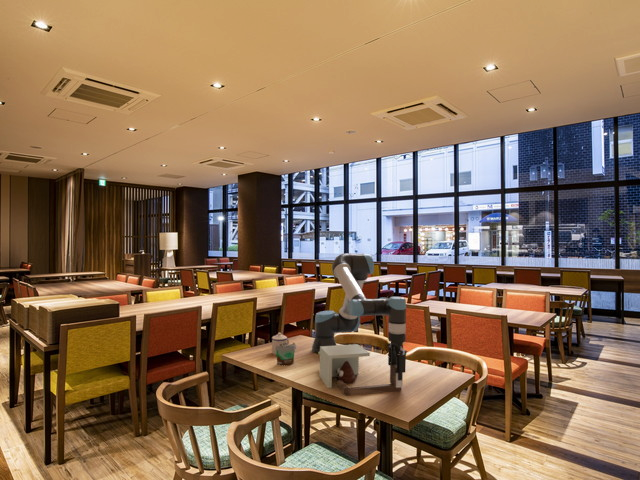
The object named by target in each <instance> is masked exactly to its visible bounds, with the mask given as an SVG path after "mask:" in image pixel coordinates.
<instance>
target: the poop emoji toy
mask: <svg viewBox="0 0 640 480" xmlns="http://www.w3.org/2000/svg"><path fill="white" fill-rule="evenodd" d="M336 373H337V374H338V375H337V376H336V377H337V379H338V381H339V380H342V381H343V382H344V383H345V384H346V385H348V384H353V383H355V382H356V375H355V374H354V371H353V369H352V367H351V366H350V364H349V362H348V361H345V362H344V363H343V365H342V367H341V368H338V369H337V370H336Z"/></svg>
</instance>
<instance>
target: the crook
mask: <svg viewBox="0 0 640 480" xmlns="http://www.w3.org/2000/svg"><path fill="white" fill-rule="evenodd" d="M396 371H397V366H396V364H395V365H389V383H385V384H384V383H382V384H374V385H362V386H353V387H349V386H348V384H346V383H344V382H343V381H342V380H339V379H338V380H337V388H338V389H339V390H340V391H341V392H342V394H343V395H345V396H346V397H347V396H356V395H357V396H358V395H359V396H360V395H366V394H374V393H375V394H377V393H387V392H397V391H402V387H399V388H396ZM403 374H404V373H402V380H403V376H404V375H403Z"/></svg>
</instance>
